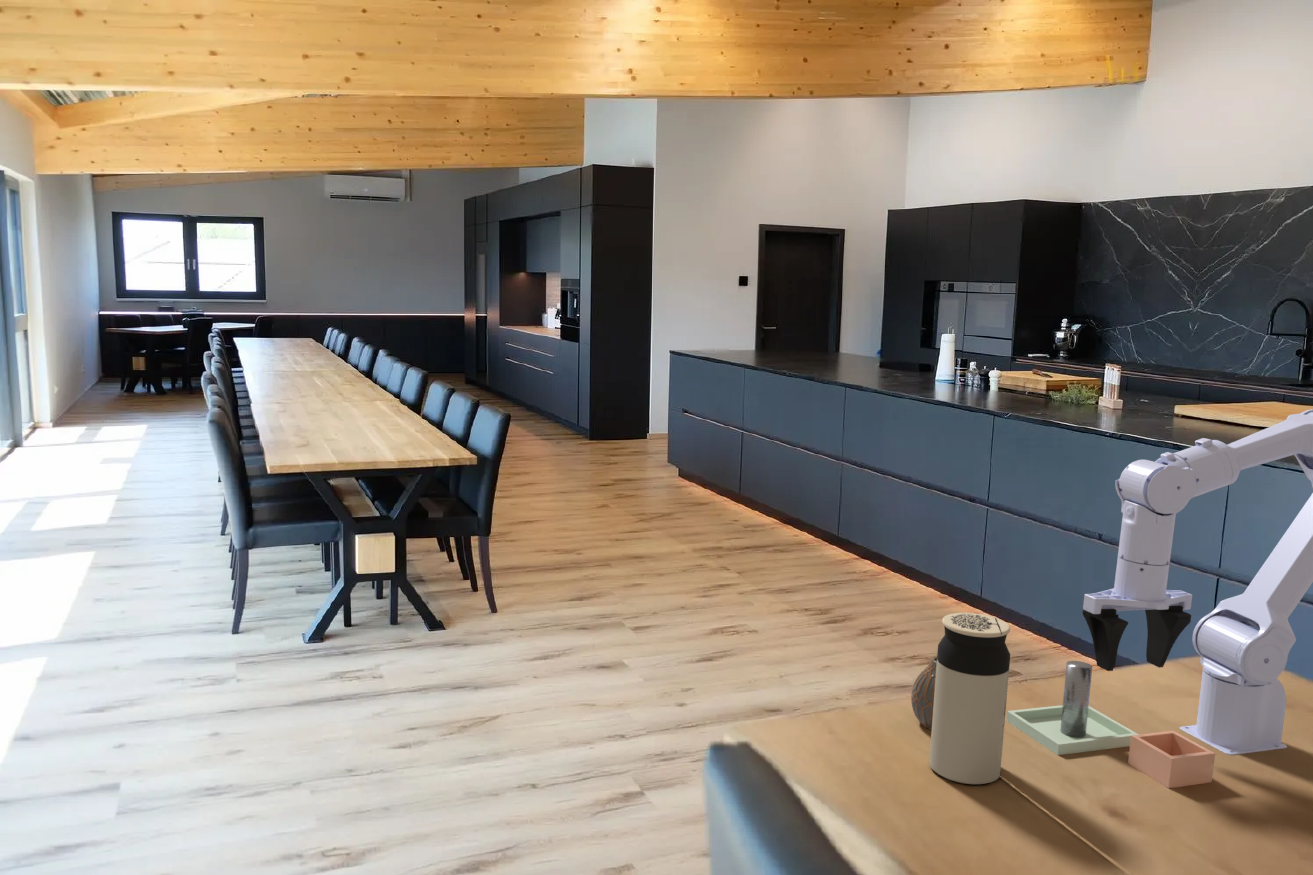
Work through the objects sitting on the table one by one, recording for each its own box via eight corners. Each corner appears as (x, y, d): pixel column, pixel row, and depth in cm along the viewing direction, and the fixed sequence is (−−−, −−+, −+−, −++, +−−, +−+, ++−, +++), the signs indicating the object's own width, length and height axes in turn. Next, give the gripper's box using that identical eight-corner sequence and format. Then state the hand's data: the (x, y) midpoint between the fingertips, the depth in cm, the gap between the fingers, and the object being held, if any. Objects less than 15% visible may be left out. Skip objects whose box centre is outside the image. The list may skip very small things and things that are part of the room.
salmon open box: (1169, 761, 121) (1173, 730, 121) (1211, 785, 115) (1215, 753, 115) (1127, 767, 119) (1131, 735, 119) (1167, 792, 113) (1171, 758, 113)
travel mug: (925, 778, 115) (937, 627, 112) (932, 749, 122) (942, 607, 120) (999, 792, 112) (1012, 638, 110) (1000, 762, 120) (1013, 617, 117)
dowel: (1073, 726, 129) (1079, 659, 128) (1091, 736, 126) (1097, 667, 125) (1055, 729, 128) (1061, 662, 127) (1072, 739, 125) (1079, 670, 124)
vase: (967, 739, 126) (972, 672, 124) (910, 732, 127) (915, 666, 126) (962, 716, 132) (967, 653, 131) (908, 711, 134) (913, 648, 132)
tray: (1082, 715, 134) (1083, 702, 134) (1138, 748, 124) (1139, 734, 124) (1005, 724, 130) (1007, 710, 130) (1057, 758, 121) (1058, 744, 121)
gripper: (1118, 570, 116) (1104, 682, 118) (1217, 566, 120) (1202, 674, 122) (1076, 554, 122) (1064, 660, 124) (1171, 551, 127) (1158, 654, 129)
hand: (1130, 666), depth 124 cm, fingers open, 7 cm apart
